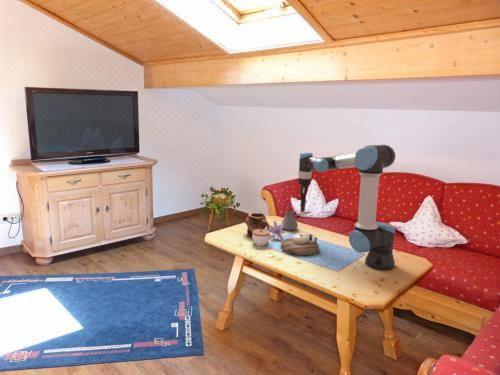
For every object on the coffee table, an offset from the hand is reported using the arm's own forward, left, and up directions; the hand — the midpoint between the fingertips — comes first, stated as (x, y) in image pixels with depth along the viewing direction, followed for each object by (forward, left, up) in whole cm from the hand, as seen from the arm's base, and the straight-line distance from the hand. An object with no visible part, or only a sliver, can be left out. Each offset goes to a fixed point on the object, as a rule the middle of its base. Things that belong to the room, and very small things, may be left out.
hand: (302, 214), depth 240 cm
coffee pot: (+19, -6, -17) cm, 27 cm away
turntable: (-13, +7, -17) cm, 22 cm away
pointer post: (-5, -4, -17) cm, 18 cm away
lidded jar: (+1, +26, -17) cm, 31 cm away
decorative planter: (+15, +23, -17) cm, 33 cm away
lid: (-8, +5, -14) cm, 17 cm away
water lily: (+8, +14, -17) cm, 23 cm away
